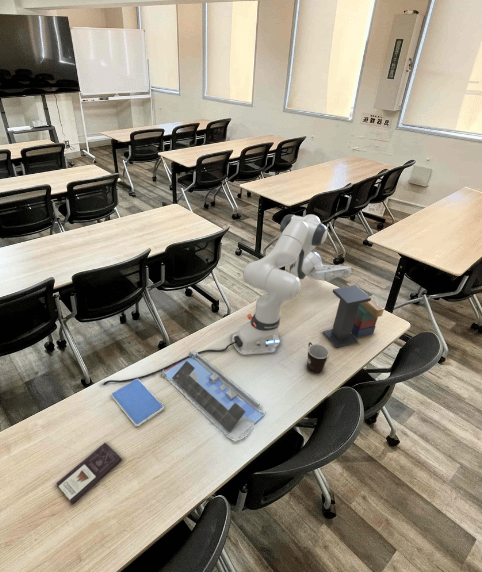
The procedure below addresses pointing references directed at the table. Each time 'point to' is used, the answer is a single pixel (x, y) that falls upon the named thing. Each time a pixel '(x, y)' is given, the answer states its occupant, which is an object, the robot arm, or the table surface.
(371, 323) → the book stack
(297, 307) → the table surface
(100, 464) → the chocolate bar
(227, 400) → the blue parts tray
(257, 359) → the table surface
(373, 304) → the wooden bar
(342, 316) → the stand
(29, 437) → the table surface
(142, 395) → the tablet
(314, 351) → the coffee mug
